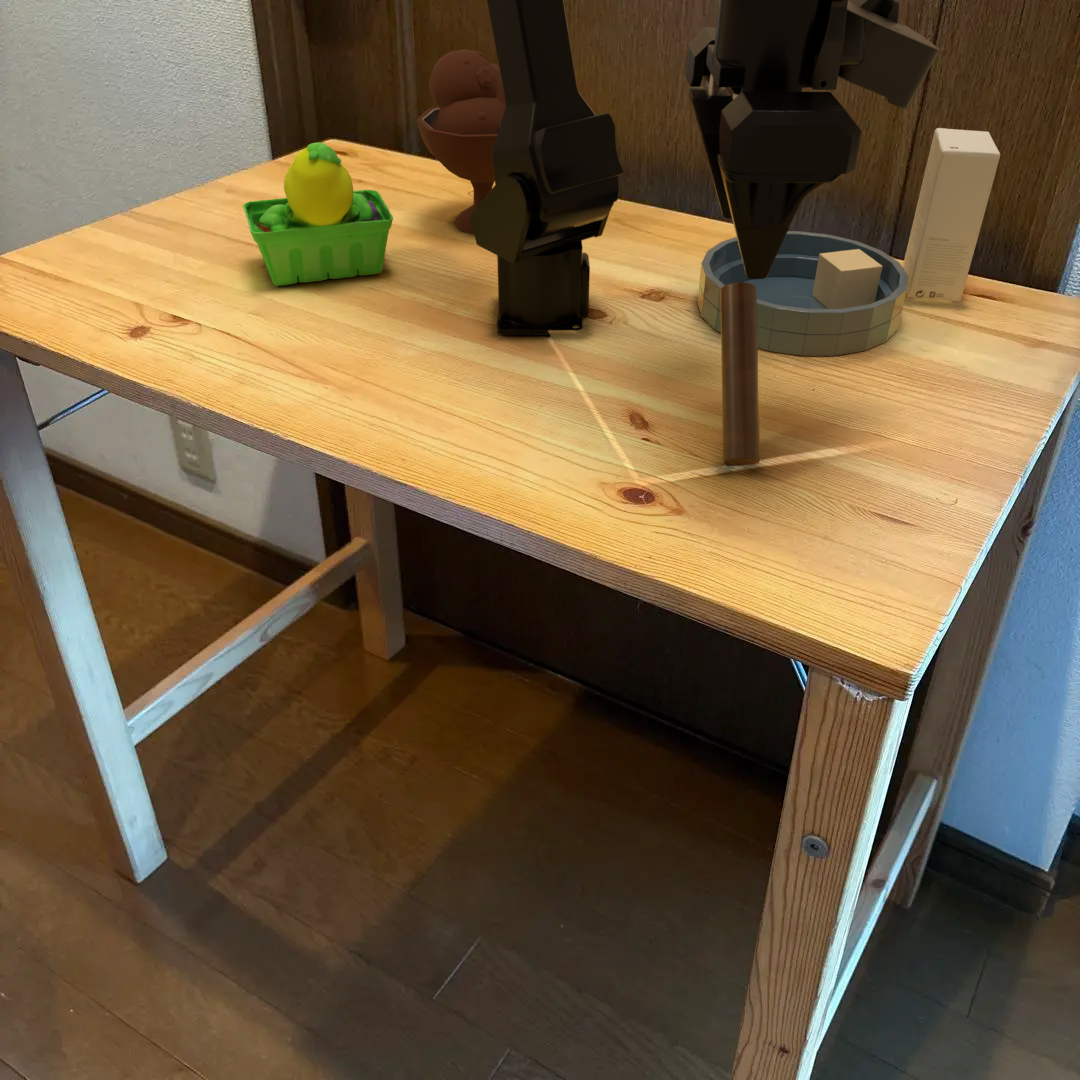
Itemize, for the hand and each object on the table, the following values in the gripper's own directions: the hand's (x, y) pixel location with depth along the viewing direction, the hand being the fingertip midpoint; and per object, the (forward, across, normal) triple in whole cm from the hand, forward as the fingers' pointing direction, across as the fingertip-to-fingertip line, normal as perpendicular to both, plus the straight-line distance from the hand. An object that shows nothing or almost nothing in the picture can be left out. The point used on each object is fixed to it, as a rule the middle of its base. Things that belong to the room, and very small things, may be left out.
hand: (743, 245), depth 61 cm
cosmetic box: (+12, +20, -20) cm, 31 cm away
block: (+11, +17, -12) cm, 23 cm away
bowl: (+12, +15, -8) cm, 21 cm away
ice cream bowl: (+12, +35, +17) cm, 41 cm away
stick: (+11, -6, 0) cm, 13 cm away
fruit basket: (+12, +24, +30) cm, 40 cm away
